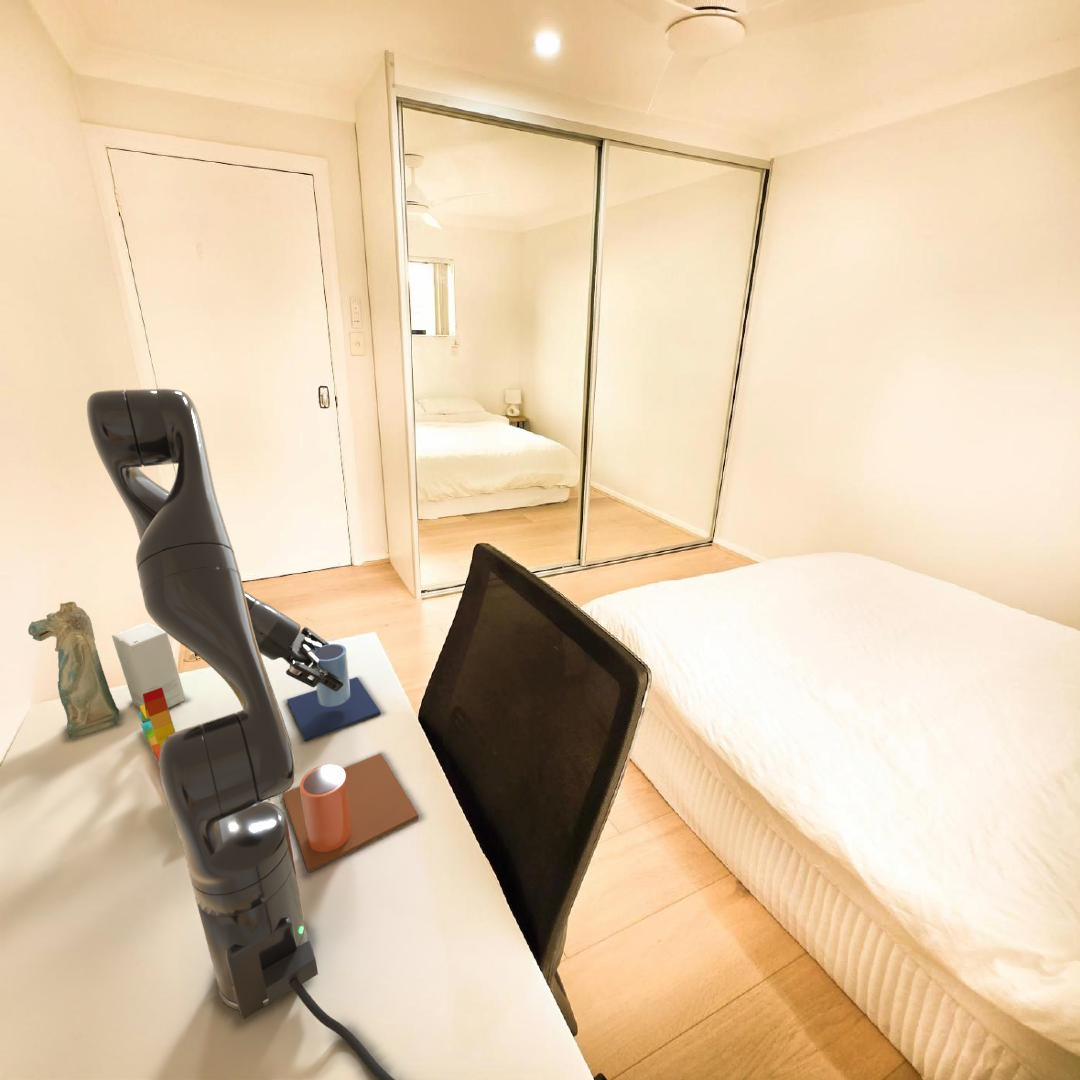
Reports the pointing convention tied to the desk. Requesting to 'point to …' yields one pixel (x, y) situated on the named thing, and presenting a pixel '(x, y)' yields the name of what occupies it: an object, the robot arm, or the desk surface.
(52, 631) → the statue
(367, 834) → the brown mat
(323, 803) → the terracotta tumbler
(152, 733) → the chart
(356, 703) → the navy mat
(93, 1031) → the desk surface
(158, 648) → the cosmetic box
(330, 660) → the blue tumbler
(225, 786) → the robot arm
